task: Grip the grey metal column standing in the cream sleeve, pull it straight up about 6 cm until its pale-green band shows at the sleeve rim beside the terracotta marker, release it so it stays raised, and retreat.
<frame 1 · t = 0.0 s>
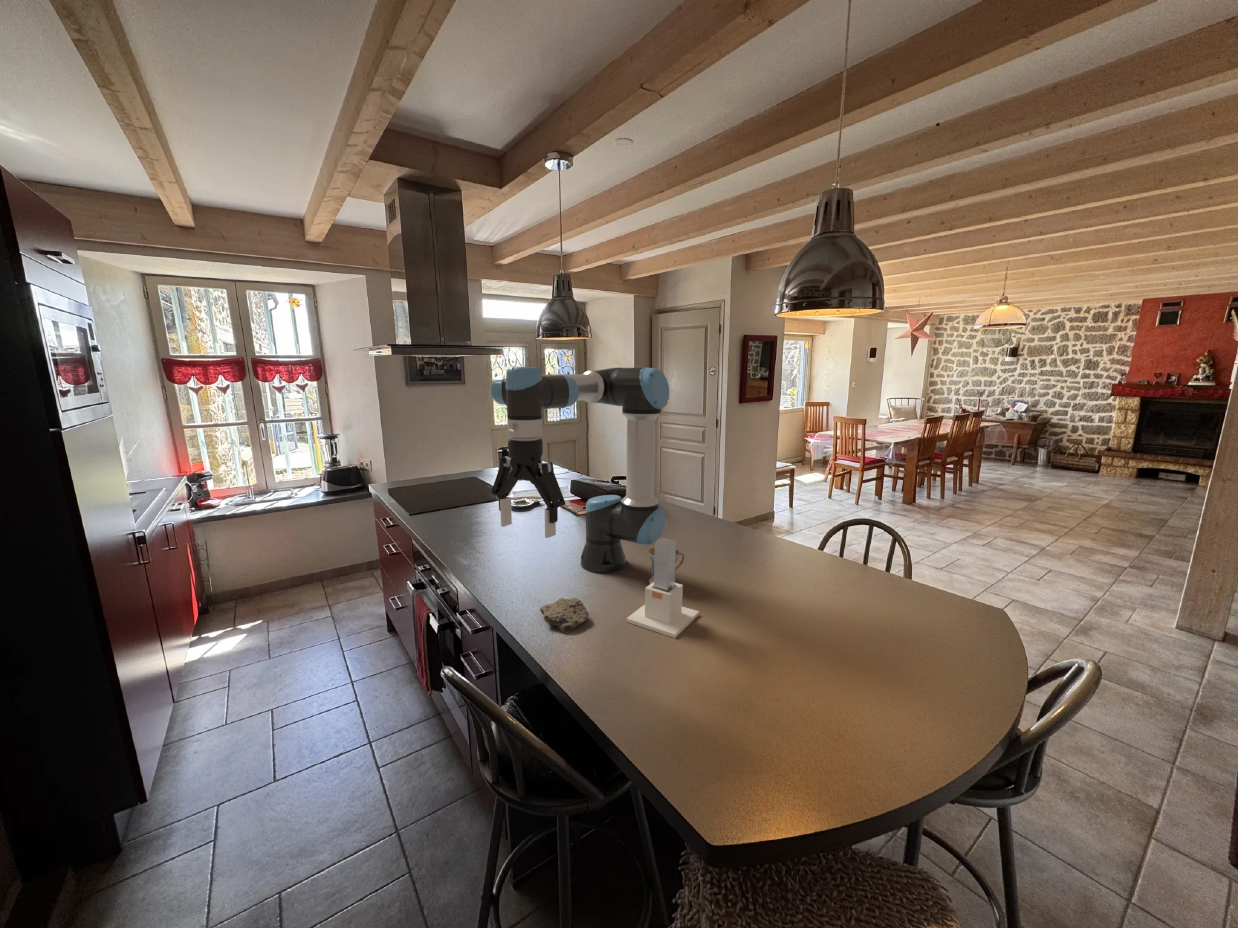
hand: (527, 530, 112), 28 cm above the kitchen island, fingers open, 13 cm apart
mug: (666, 584, 150), on the kitchen island
column: (664, 578, 127), point 11 cm above the kitchen island, slide at 0.0 cm
rock: (564, 621, 128), on the kitchen island
stand: (663, 618, 129), on the kitchen island
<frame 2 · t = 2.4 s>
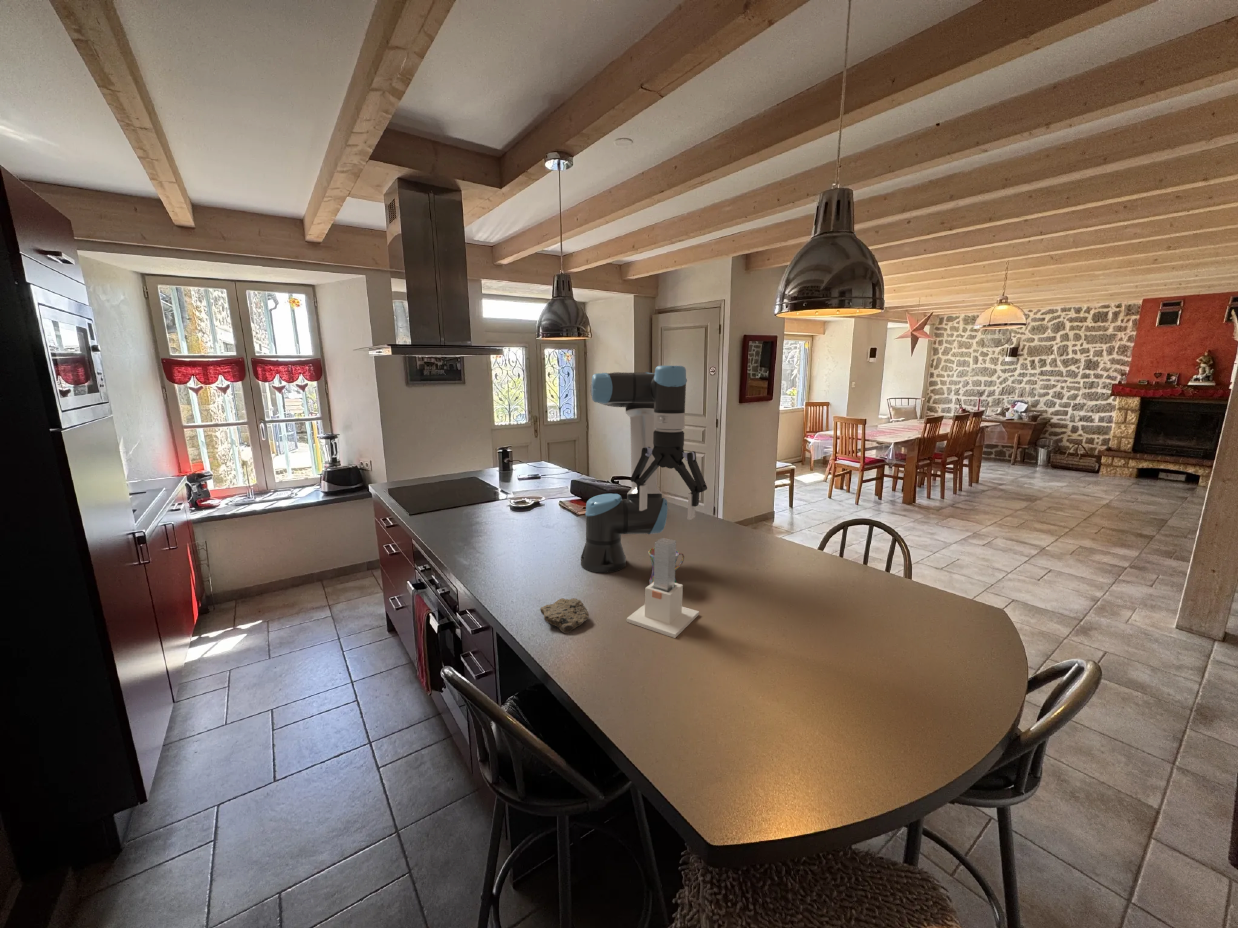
hand: (666, 514, 124), 29 cm above the kitchen island, fingers open, 13 cm apart
nothing on the kitchen island moved.
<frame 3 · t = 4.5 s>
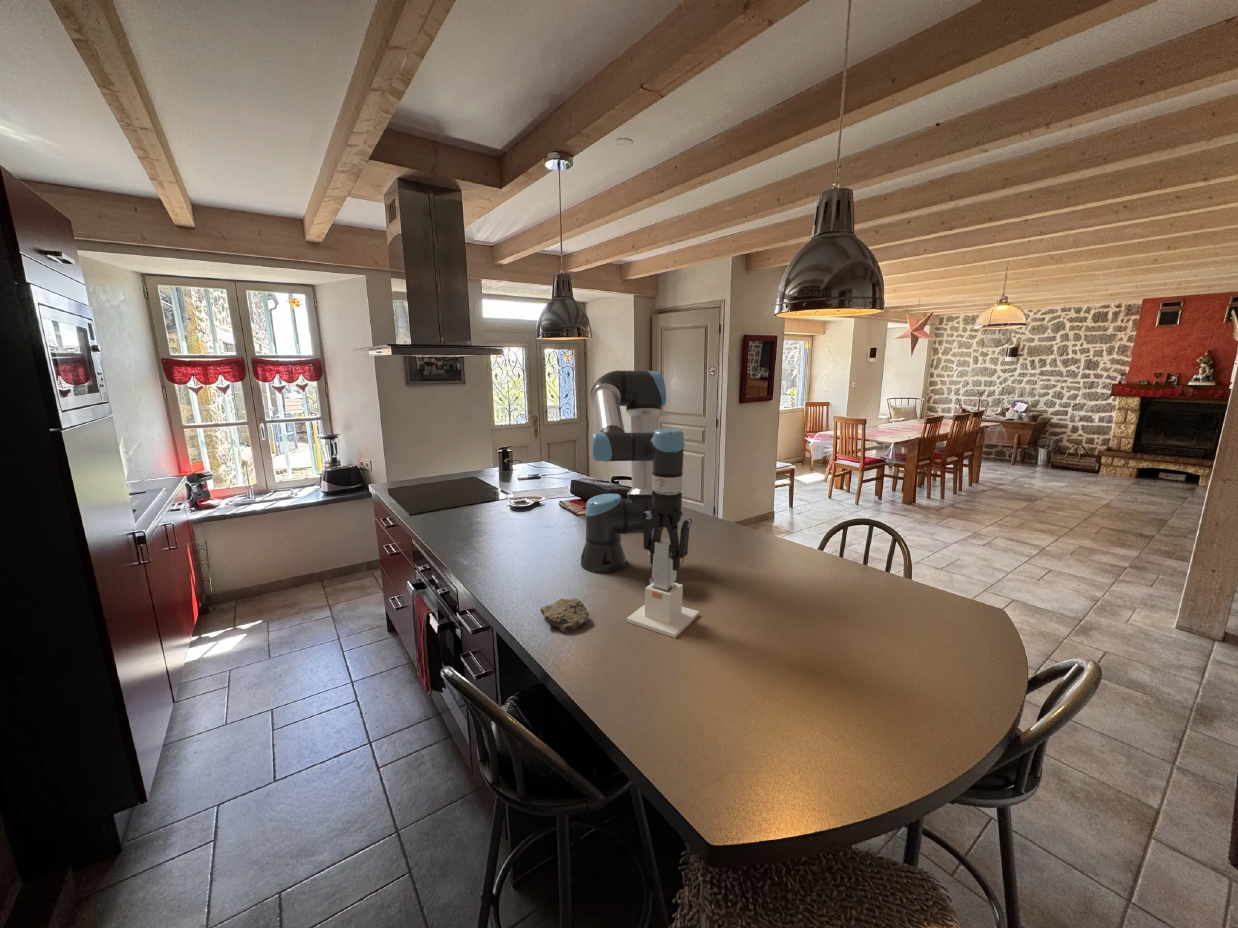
hand: (664, 578, 127), 11 cm above the kitchen island, fingers closed on column, 4 cm apart
column: (664, 578, 127), point 11 cm above the kitchen island, slide at 0.0 cm, touching gripper
everything else where it was.
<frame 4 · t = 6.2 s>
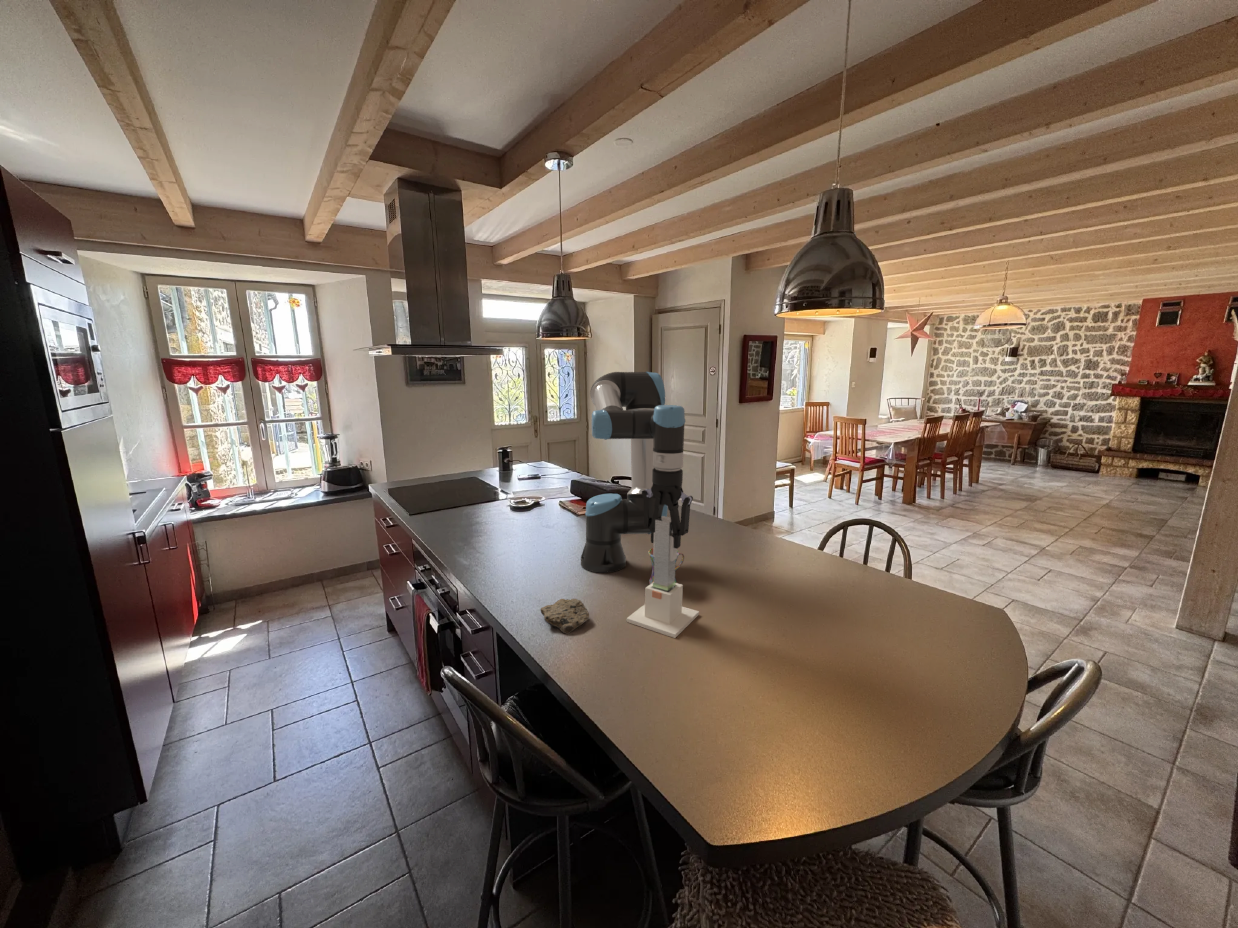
hand: (665, 557, 126), 17 cm above the kitchen island, fingers closed on column, 4 cm apart
column: (665, 556, 126), point 17 cm above the kitchen island, slide at 5.9 cm, touching gripper
everything else where it was.
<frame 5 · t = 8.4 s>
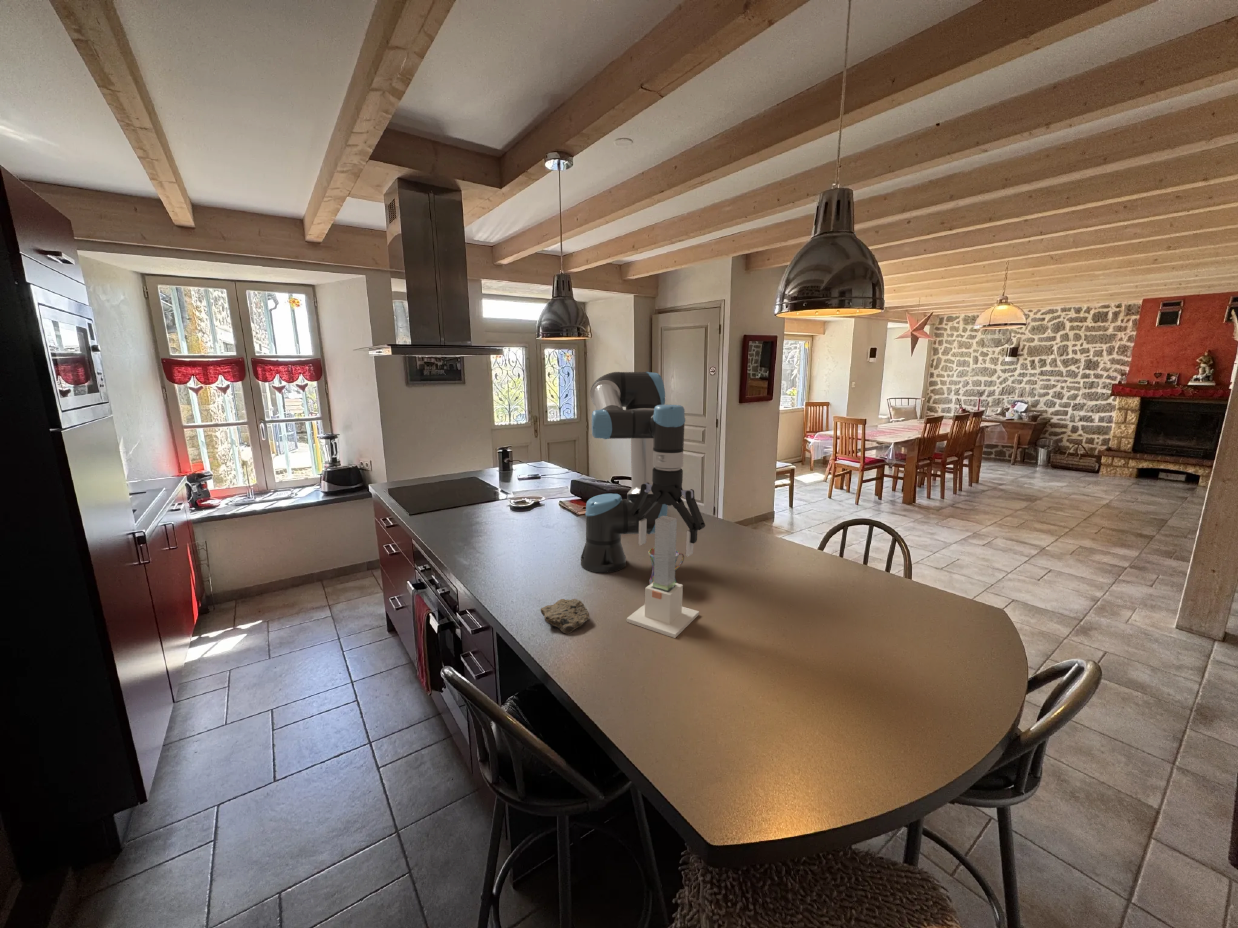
hand: (665, 549, 126), 19 cm above the kitchen island, fingers open, 13 cm apart
column: (665, 556, 126), point 17 cm above the kitchen island, slide at 6.0 cm
everything else where it was.
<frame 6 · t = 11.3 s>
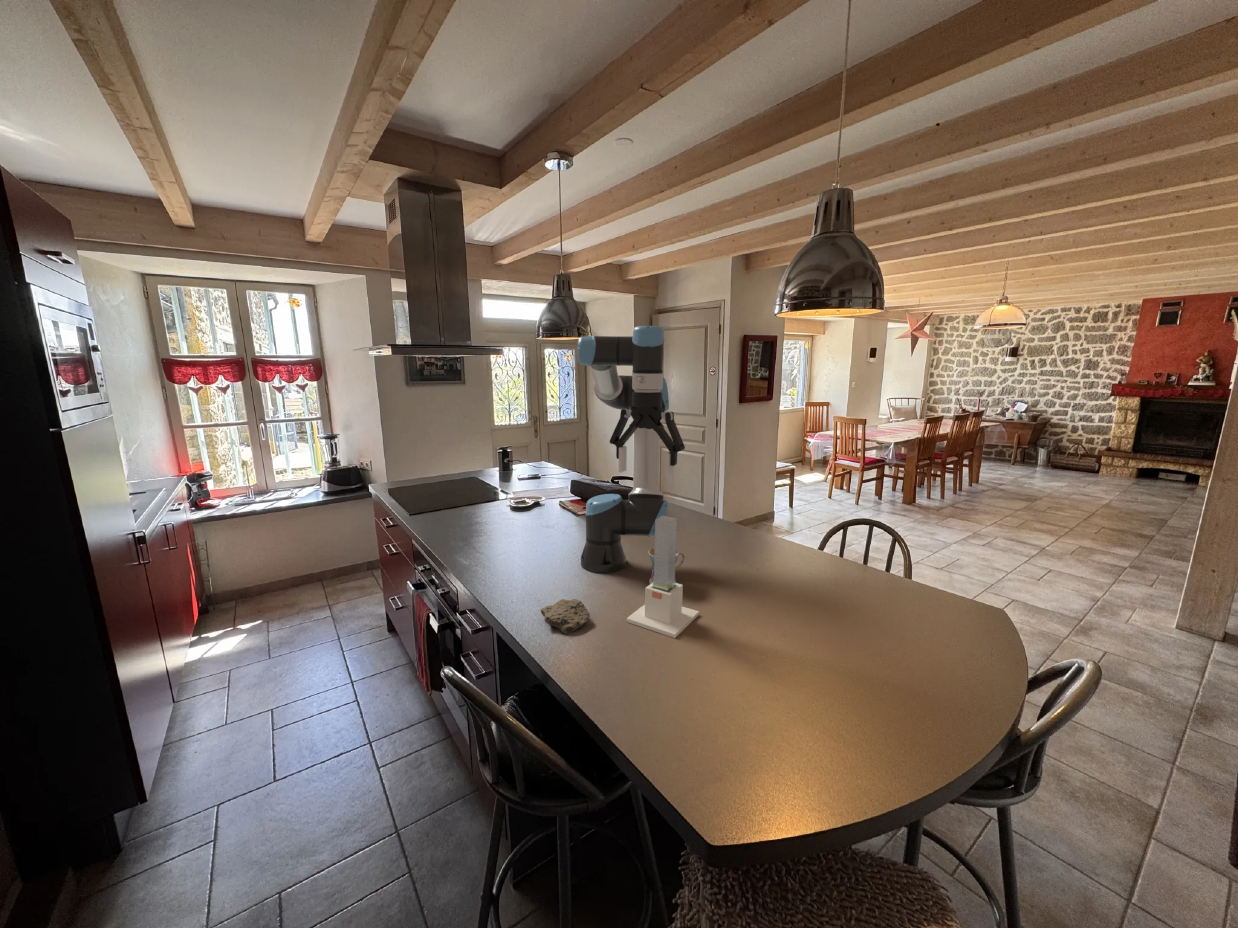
hand: (645, 474, 126), 38 cm above the kitchen island, fingers open, 13 cm apart
nothing on the kitchen island moved.
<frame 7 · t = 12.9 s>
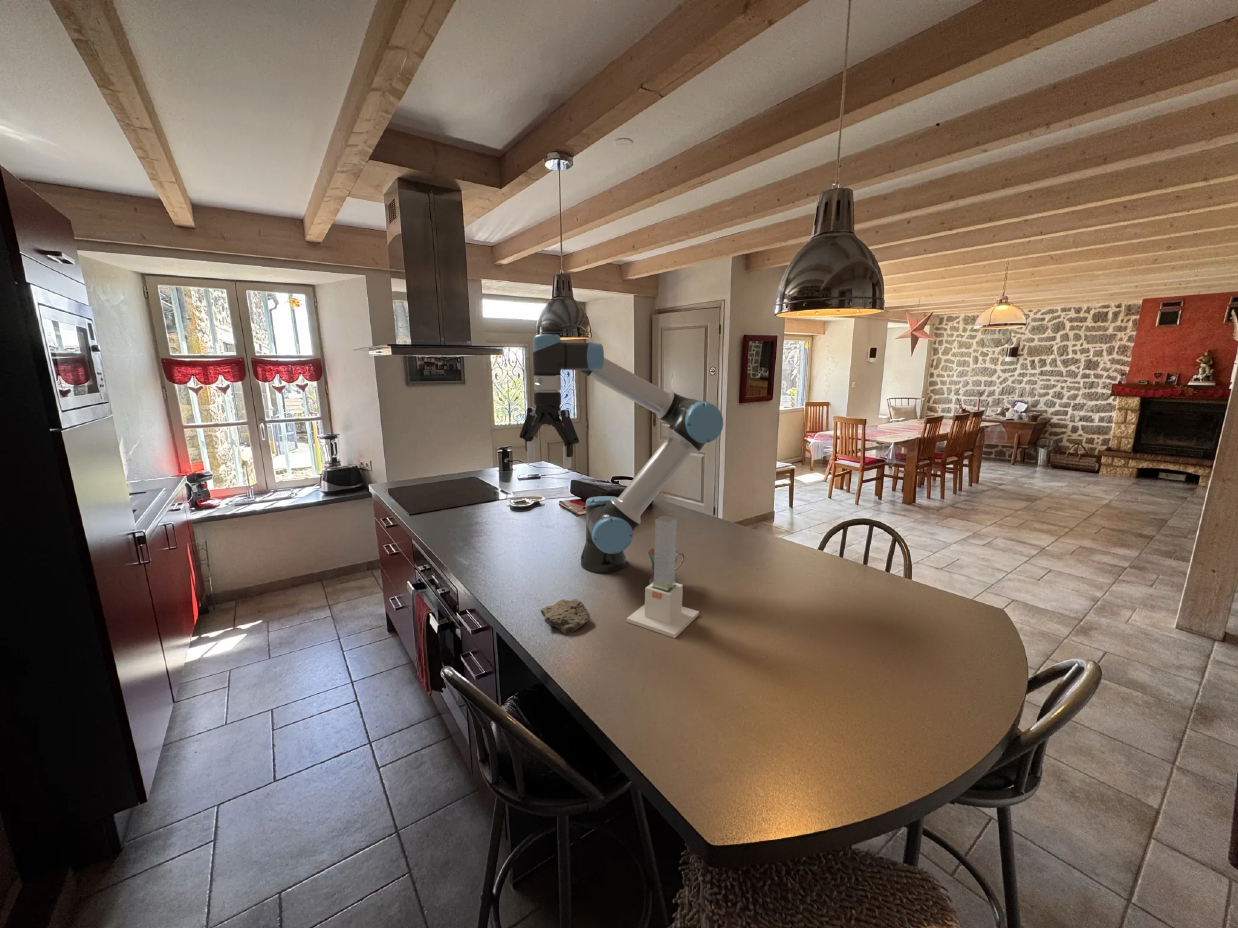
hand: (548, 465, 142), 37 cm above the kitchen island, fingers open, 13 cm apart
nothing on the kitchen island moved.
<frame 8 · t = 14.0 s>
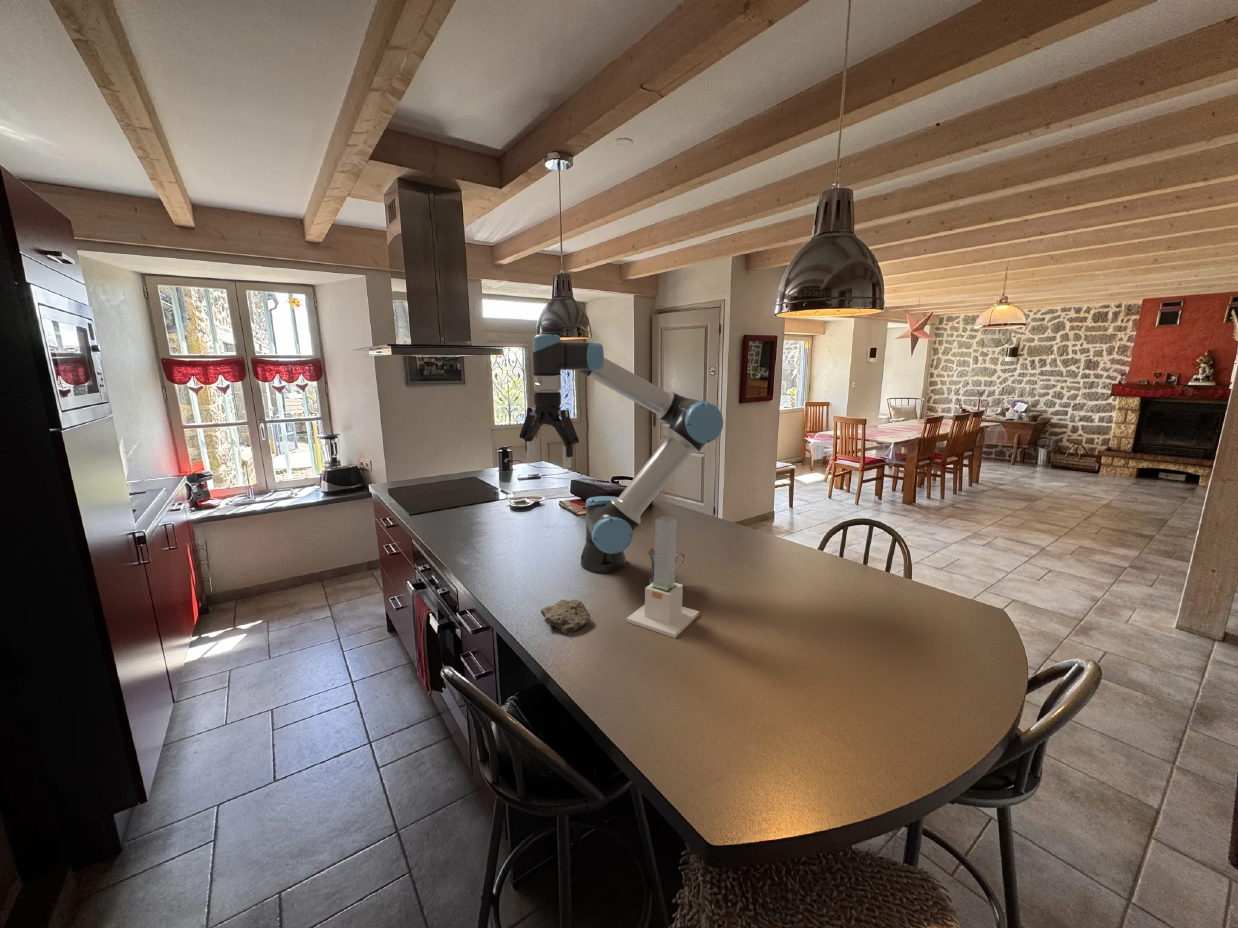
hand: (548, 465, 142), 37 cm above the kitchen island, fingers open, 13 cm apart
nothing on the kitchen island moved.
at the end: column slide at 6.0 cm; the gripper is holding nothing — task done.
